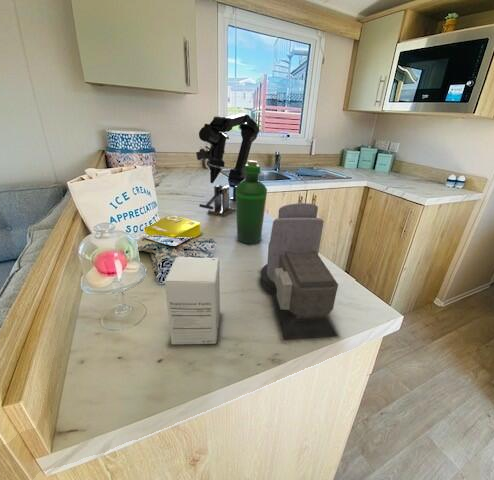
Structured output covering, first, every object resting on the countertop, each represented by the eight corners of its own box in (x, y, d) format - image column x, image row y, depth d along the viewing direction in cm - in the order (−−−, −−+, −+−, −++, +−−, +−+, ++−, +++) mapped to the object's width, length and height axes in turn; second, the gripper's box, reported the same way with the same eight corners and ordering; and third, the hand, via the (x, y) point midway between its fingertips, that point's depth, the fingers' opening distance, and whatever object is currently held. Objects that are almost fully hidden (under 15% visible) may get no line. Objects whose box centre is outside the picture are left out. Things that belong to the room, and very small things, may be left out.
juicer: (256, 266, 83) (261, 187, 73) (307, 265, 86) (318, 188, 76) (274, 340, 57) (285, 231, 46) (346, 335, 60) (372, 231, 49)
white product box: (180, 314, 62) (175, 255, 55) (220, 314, 62) (220, 256, 56) (169, 345, 53) (162, 280, 47) (216, 345, 54) (215, 281, 48)
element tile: (140, 237, 95) (138, 225, 93) (172, 224, 107) (171, 213, 105) (174, 248, 90) (173, 235, 88) (203, 233, 102) (202, 221, 100)
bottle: (268, 237, 103) (274, 161, 91) (255, 248, 94) (259, 165, 82) (243, 231, 107) (246, 157, 95) (228, 241, 98) (229, 160, 86)
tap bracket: (223, 216, 120) (223, 190, 115) (208, 213, 123) (207, 187, 118) (234, 210, 129) (235, 185, 124) (220, 207, 131) (219, 182, 126)
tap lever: (212, 211, 112) (211, 206, 111) (200, 208, 114) (198, 203, 112) (229, 192, 122) (228, 187, 121) (218, 189, 124) (217, 185, 122)
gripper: (198, 144, 125) (192, 178, 127) (199, 139, 107) (193, 179, 110) (222, 150, 128) (216, 184, 131) (227, 146, 111) (220, 185, 114)
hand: (211, 183), depth 121 cm, fingers closed
